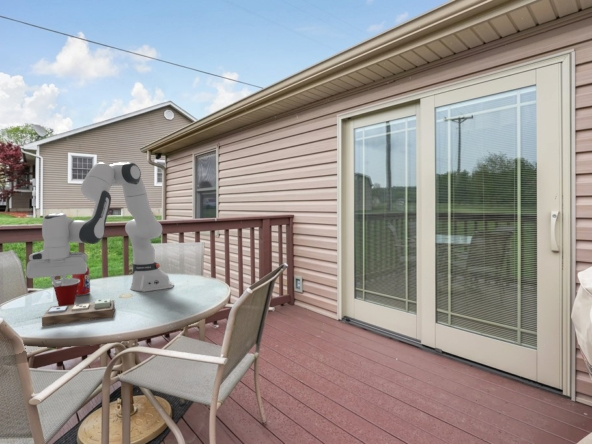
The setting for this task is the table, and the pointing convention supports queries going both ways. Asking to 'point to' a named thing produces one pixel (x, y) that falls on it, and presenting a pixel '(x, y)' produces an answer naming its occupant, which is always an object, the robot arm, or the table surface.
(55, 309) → the tile one dot
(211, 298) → the table surface
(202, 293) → the table surface
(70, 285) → the plastic cup
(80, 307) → the tile three dots
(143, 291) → the robot arm
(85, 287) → the soda can
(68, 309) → the keypad board
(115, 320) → the table surface
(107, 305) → the tile two dots
